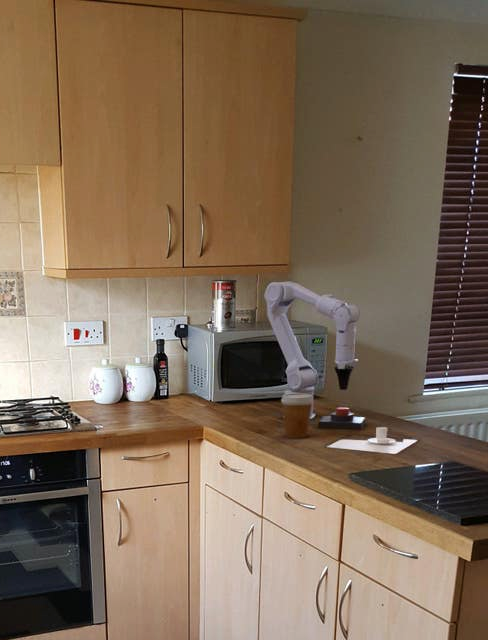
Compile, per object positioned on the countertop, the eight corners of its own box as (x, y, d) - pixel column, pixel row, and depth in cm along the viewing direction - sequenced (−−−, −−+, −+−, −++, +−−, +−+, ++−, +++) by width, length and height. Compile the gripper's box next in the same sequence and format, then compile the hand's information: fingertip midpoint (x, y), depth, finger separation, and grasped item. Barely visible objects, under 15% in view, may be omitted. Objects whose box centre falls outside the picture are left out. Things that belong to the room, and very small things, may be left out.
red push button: (334, 415, 271) (335, 409, 271) (336, 413, 275) (337, 407, 274) (347, 416, 270) (348, 409, 269) (349, 414, 274) (349, 407, 273)
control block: (318, 428, 271) (318, 415, 270) (323, 422, 280) (323, 410, 279) (360, 430, 267) (361, 417, 266) (364, 424, 276) (365, 411, 275)
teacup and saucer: (389, 446, 244) (390, 432, 243) (362, 444, 248) (362, 429, 247) (399, 441, 251) (400, 426, 250) (372, 438, 255) (373, 424, 254)
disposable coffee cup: (314, 433, 264) (316, 393, 260) (309, 439, 255) (310, 398, 251) (283, 432, 267) (284, 392, 263) (277, 438, 258) (277, 397, 254)
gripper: (355, 347, 264) (353, 393, 269) (361, 343, 277) (359, 386, 282) (332, 347, 266) (330, 392, 271) (338, 342, 279) (337, 386, 284)
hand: (343, 389), depth 277 cm, fingers closed
